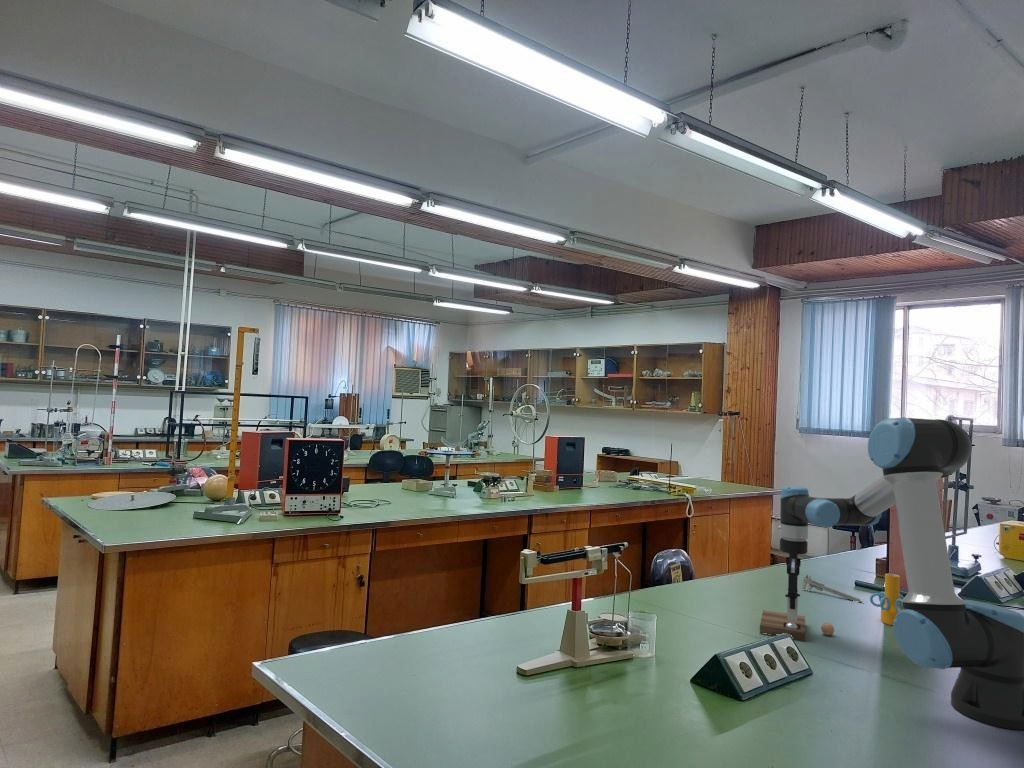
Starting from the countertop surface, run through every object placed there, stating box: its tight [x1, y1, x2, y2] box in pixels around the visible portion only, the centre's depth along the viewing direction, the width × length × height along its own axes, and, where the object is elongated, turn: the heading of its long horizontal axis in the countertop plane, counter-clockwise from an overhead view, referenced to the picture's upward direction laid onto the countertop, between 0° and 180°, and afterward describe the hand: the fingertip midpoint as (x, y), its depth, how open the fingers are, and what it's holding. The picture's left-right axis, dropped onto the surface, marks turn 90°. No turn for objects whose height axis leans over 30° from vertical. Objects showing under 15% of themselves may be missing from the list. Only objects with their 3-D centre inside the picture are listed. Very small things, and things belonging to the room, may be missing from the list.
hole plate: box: [759, 609, 806, 642], centre depth 189 cm, size 16×12×2 cm
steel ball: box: [785, 622, 798, 629], centre depth 185 cm, size 4×4×4 cm
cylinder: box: [869, 572, 905, 626], centre depth 200 cm, size 12×10×15 cm
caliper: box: [801, 574, 864, 603], centre depth 228 cm, size 20×1×6 cm, turn 46°
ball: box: [820, 622, 835, 637], centre depth 185 cm, size 4×4×4 cm
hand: (792, 619), depth 187 cm, fingers closed
